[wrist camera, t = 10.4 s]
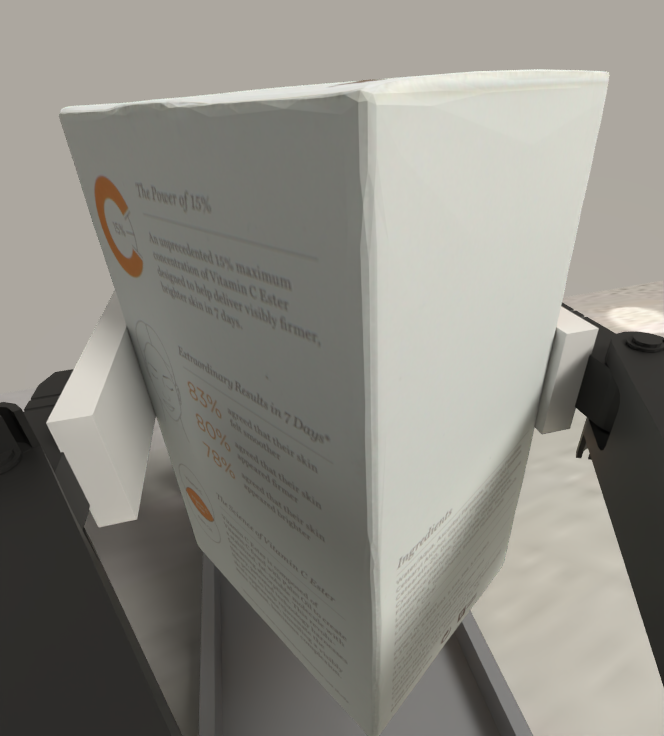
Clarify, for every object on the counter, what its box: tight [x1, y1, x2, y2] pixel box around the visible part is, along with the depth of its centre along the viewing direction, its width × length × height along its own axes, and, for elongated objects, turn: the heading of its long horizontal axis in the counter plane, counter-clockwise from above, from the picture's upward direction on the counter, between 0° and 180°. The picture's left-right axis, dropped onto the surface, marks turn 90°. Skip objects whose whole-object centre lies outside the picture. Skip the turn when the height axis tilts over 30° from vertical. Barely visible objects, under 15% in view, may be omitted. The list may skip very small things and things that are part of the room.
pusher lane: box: [199, 552, 533, 736], centre depth 22 cm, size 12×19×6 cm, turn 13°
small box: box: [59, 70, 610, 736], centre depth 11 cm, size 8×6×13 cm
